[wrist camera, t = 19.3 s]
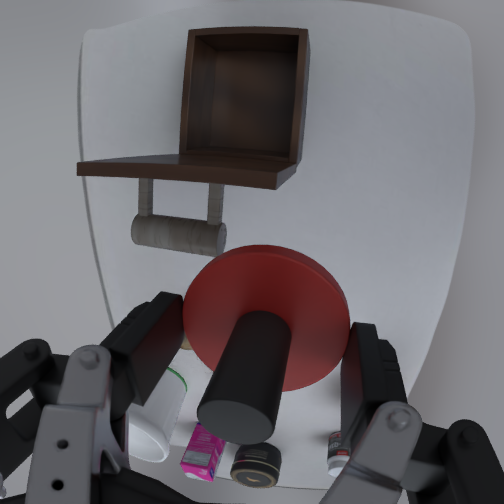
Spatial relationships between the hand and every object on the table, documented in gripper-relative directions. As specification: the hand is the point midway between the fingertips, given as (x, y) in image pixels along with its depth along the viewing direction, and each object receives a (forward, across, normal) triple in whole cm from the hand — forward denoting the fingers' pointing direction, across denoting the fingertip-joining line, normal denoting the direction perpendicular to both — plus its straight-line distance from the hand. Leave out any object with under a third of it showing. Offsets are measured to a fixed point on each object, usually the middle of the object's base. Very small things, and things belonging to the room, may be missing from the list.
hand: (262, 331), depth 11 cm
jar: (+28, +1, +55) cm, 61 cm away
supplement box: (+28, +11, +50) cm, 59 cm away
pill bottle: (+28, -14, +45) cm, 55 cm away
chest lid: (+12, +6, -4) cm, 15 cm away
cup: (+28, +20, +37) cm, 51 cm away
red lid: (+1, 0, 0) cm, 1 cm away
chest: (+28, +6, -10) cm, 30 cm away
